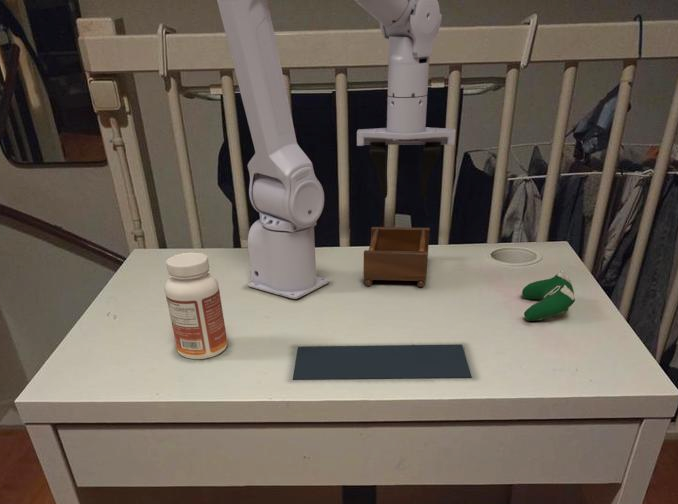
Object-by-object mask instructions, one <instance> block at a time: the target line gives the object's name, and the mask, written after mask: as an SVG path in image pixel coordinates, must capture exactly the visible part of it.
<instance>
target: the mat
mask: <svg viewBox="0 0 678 504" xmlns="http://www.w3.org/2000/svg"><path fill="white" fill-rule="evenodd" d="M295 356H296V357H295V361H294V368H293V375H292V380H294V381H295V380H296V381H297V380H298V381H299V380H304V381H305V380H386V379H388V380H390V379H391V380H395V379H396V380H397V379H399V380H400V379H401V380H402V379H472V378H473V376H472V373H471V369H470V366H469V362H468V360H467V356H466V353H465V349H464V345H463V344H461V343H460V344H458V343H457V344H389V345H388V344H386V345H384V344H383V345H382V344H381V345H318V346H317V345H316V346H315V345H314V346H313V345H312V346H311V345H309V346H308V345H307V346H302V345H301V346H297V350H296V355H295Z"/></svg>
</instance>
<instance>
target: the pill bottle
mask: <svg viewBox="0 0 678 504" xmlns="http://www.w3.org/2000/svg"><path fill="white" fill-rule="evenodd" d="M165 264H166V270H167V274H168V276H169V277H170V278H168V279H167V280H166V282H165V285H164V293H165V298H166V303H167V308H168V312H169V317H170V323H171V327H172V332H173V336H174V341H175V347H176V350H177V352H178V353H179V354H180V355H181V356H182V357H184V358H187V359H191V360H205V359H209V358H212V357H215V356H218V355H220V354H221V353H222V352H224V351H225V350H226V348H227V347H228V338H227V330H226V325H225V318H224V312H223V311H224V310H223V305H222V300H221V298H222V297H221V292H220V287H219V286H220V285H219V282H218V280H217V278H216V277H215V276H214V275H212V274H211V273H209V272H210V262H209V257H208V255H206V254H205V253H202V252H194V251H193V252H182V253H177V254H174V255H172V256H170V257H168V258H167V259H166V261H165Z"/></svg>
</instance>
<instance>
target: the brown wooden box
mask: <svg viewBox="0 0 678 504" xmlns="http://www.w3.org/2000/svg"><path fill="white" fill-rule="evenodd" d="M430 229H431V227H405V226H404V227H402V226H401V227H398V226H395V227H394V226H391V227H390V226H371V228H370V244H369V248H368V249H365V250H364V251H363V280H364V283H365V285H366V286H367V287H370V286H372V284H373V281H403V282H405V281H407V282H408V281H410V282H417V287H419V288H423V287H424V286H425V282H426V281H427V274H428V273H427V270H428V259H429V246H430V231H431V230H430Z"/></svg>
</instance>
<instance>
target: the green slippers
mask: <svg viewBox="0 0 678 504" xmlns="http://www.w3.org/2000/svg"><path fill="white" fill-rule="evenodd" d="M521 295H522V297H523V298H524V299H526V300H527V299H528V300H540V301H537V302H535V303H534V304H532V305H530V306H529V307H528V308H527V309H526V310H525V311H524V313H523V316H524V317H525V320H526V321H527V322H532V321H542V320H544V319H548V318H552V317H554V316H557V315H559V314H562V313H566V312H567V311H568V310H569V308H570V307H571V306H572V305H574V303H575V302H576V295H575V291H574V287H573V285H572V281H571V279H570V277H569V276H568V275H567V274H566V272H564V271H563V270H562V269H560V270H559V272H558V273H557V274H555V275H554V276H553V277H549V278H546V279H541V280H536V281H533V282H531V283H528V284H527V285H526V286H524V287H523V289H522V290H521ZM541 299H542V300H541Z"/></svg>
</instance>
